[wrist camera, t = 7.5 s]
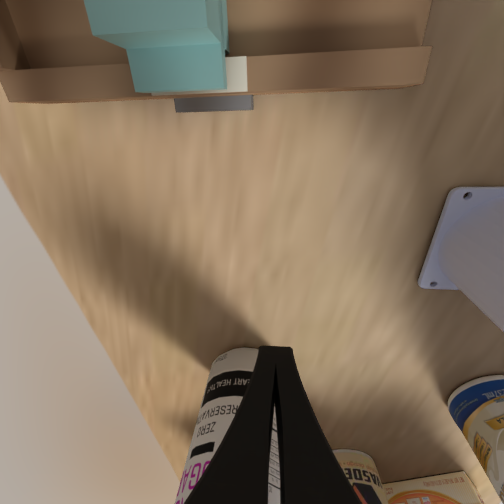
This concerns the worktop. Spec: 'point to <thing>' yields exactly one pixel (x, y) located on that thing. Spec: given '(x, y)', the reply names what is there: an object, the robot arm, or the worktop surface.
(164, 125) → the worktop surface
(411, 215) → the worktop surface
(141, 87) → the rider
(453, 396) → the beverage bottle
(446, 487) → the coffeecake box
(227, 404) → the supplement can
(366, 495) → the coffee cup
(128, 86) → the brown wooden tray
